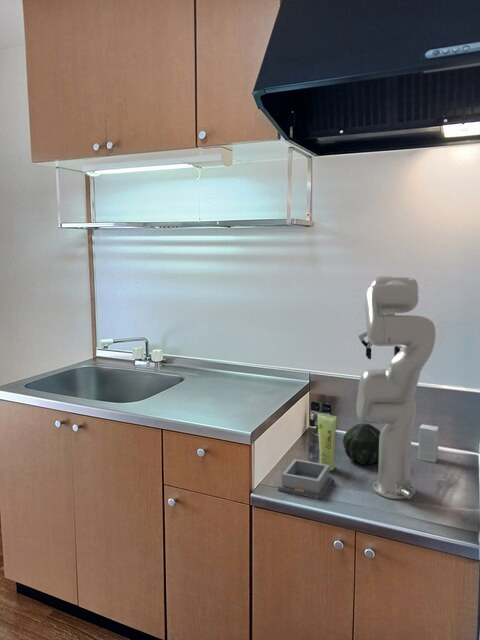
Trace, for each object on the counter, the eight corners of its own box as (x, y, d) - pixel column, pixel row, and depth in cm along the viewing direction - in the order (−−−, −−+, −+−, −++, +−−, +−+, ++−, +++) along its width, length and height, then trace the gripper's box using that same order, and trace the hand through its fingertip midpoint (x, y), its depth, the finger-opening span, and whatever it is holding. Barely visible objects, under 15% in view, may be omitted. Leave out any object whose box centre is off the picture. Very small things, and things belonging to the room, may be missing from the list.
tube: (319, 471, 170) (319, 417, 166) (316, 465, 175) (317, 412, 171) (336, 471, 170) (336, 416, 167) (332, 464, 175) (333, 411, 172)
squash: (362, 432, 190) (348, 410, 181) (398, 444, 179) (385, 422, 170) (345, 463, 184) (329, 443, 176) (380, 478, 174) (366, 457, 165)
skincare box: (438, 458, 178) (439, 426, 176) (435, 463, 175) (437, 430, 173) (420, 455, 181) (421, 423, 179) (417, 459, 178) (418, 427, 176)
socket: (333, 479, 164) (333, 464, 163) (320, 499, 152) (321, 483, 151) (292, 471, 170) (292, 457, 169) (278, 490, 158) (277, 474, 157)
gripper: (361, 313, 174) (360, 361, 176) (411, 312, 173) (410, 360, 176) (357, 310, 181) (356, 356, 184) (405, 309, 180) (403, 356, 183)
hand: (382, 358), depth 180 cm, fingers open, 9 cm apart
